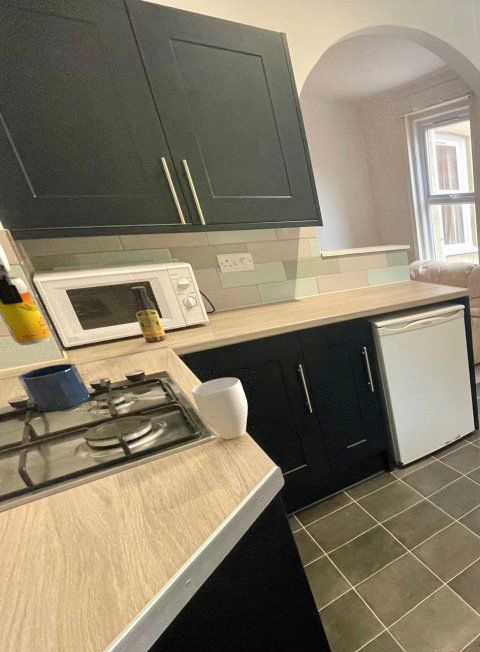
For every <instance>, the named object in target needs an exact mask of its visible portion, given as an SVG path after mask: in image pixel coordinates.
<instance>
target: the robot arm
mask: <svg viewBox="0 0 480 652" xmlns="http://www.w3.org/2000/svg"><path fill="white" fill-rule="evenodd" d="M10 271H11V266H10V263H9V261H8V258H7V256H6V253H5V251H4V248H3V246H2V244H1V243H0V300H1V302H2V303H3V304H4V305H8V304H16V303H22V302H23V299H22V298H21V296H20V294H19V292H18V290H17V288H16V286H15V285H13V284H12V282H11V280H10V278H11V274H10V273H9V272H10ZM6 279H7V280H6Z"/></svg>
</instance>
